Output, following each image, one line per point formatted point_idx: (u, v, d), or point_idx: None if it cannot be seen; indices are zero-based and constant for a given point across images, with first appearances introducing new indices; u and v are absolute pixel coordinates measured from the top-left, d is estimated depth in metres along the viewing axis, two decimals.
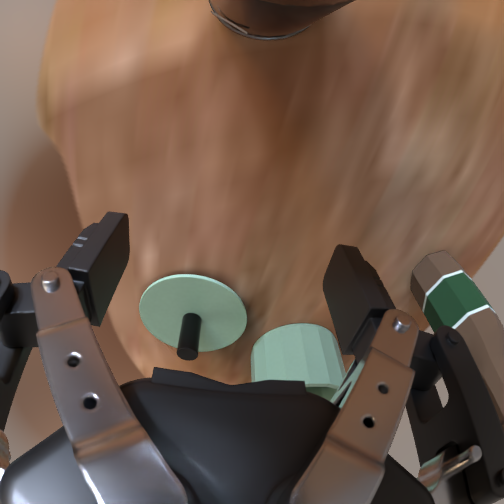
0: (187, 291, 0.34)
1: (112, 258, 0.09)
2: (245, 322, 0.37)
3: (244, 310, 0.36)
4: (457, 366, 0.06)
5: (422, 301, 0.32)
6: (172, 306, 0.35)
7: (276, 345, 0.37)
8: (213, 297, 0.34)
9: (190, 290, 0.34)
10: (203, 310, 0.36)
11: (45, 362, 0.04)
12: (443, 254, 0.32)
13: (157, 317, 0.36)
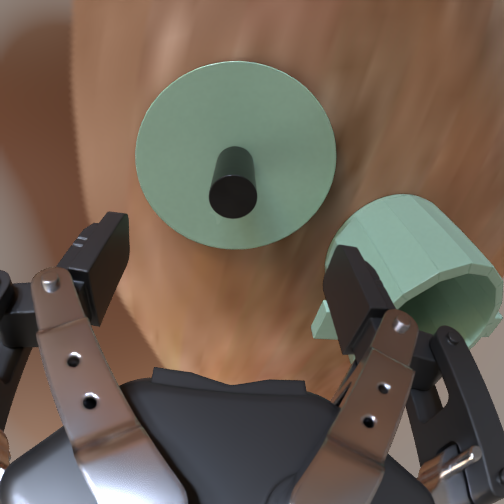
0: (235, 94, 0.17)
1: (112, 258, 0.09)
2: (332, 173, 0.20)
3: (333, 144, 0.19)
4: (457, 366, 0.06)
5: None
6: (200, 132, 0.18)
7: (384, 219, 0.20)
8: (282, 108, 0.17)
9: (241, 91, 0.17)
10: (259, 140, 0.18)
11: (45, 362, 0.04)
12: None
13: (168, 163, 0.19)
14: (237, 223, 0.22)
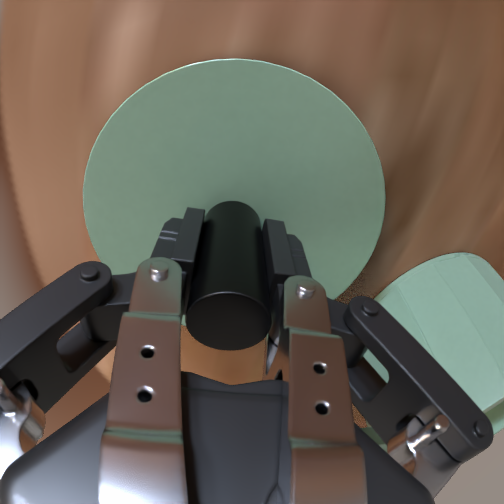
0: (230, 115, 0.10)
1: None
2: (376, 237, 0.13)
3: (383, 195, 0.12)
4: (386, 339, 0.07)
5: None
6: (176, 178, 0.11)
7: (437, 298, 0.13)
8: (309, 140, 0.11)
9: (241, 110, 0.10)
10: (271, 190, 0.12)
11: (119, 343, 0.05)
12: None
13: (130, 225, 0.12)
14: None
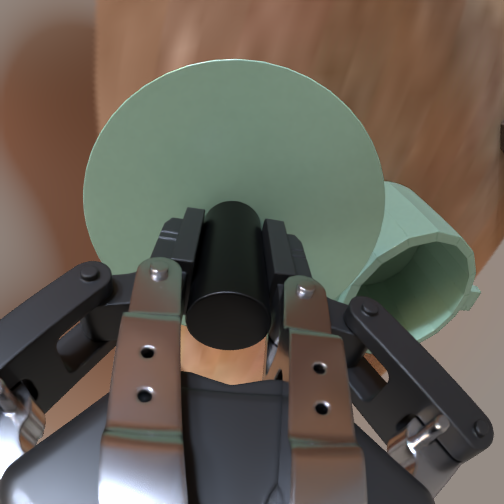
0: (230, 115, 0.10)
1: None
2: (375, 237, 0.13)
3: (382, 195, 0.12)
4: (386, 339, 0.07)
5: None
6: (176, 178, 0.11)
7: None
8: (309, 140, 0.11)
9: (241, 111, 0.10)
10: (271, 191, 0.12)
11: (119, 343, 0.05)
12: None
13: (130, 225, 0.12)
14: None
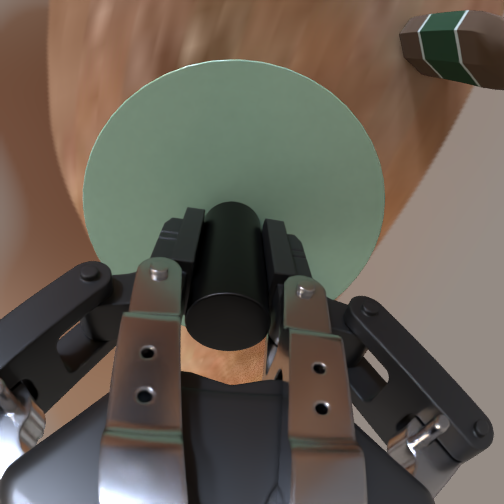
0: (230, 115, 0.10)
1: None
2: (375, 238, 0.13)
3: (382, 196, 0.12)
4: (386, 339, 0.07)
5: (419, 46, 0.21)
6: (176, 179, 0.11)
7: None
8: (308, 141, 0.11)
9: (240, 111, 0.10)
10: (270, 191, 0.12)
11: (119, 343, 0.05)
12: None
13: (130, 225, 0.12)
14: None
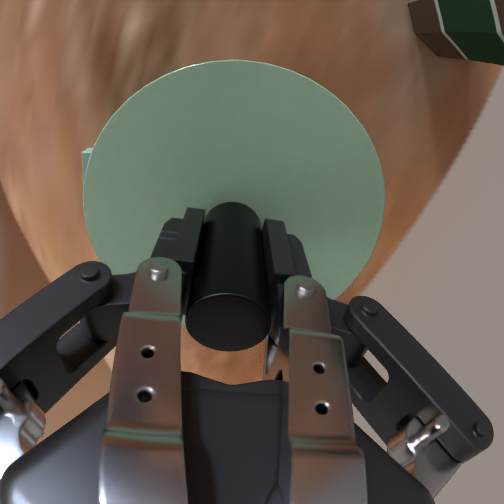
0: (230, 116, 0.10)
1: None
2: (375, 238, 0.13)
3: (382, 196, 0.12)
4: (386, 339, 0.07)
5: (435, 15, 0.13)
6: (176, 179, 0.11)
7: None
8: (309, 141, 0.11)
9: (240, 111, 0.10)
10: (271, 192, 0.12)
11: (119, 343, 0.05)
12: None
13: (130, 225, 0.12)
14: None
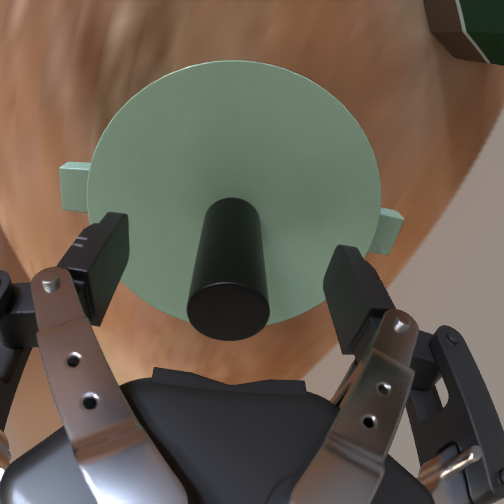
0: (230, 114, 0.10)
1: (112, 258, 0.09)
2: (372, 233, 0.14)
3: (379, 192, 0.12)
4: (457, 366, 0.06)
5: (456, 13, 0.11)
6: (178, 176, 0.12)
7: None
8: (306, 138, 0.11)
9: (240, 110, 0.10)
10: (270, 188, 0.12)
11: (45, 362, 0.04)
12: None
13: (133, 221, 0.13)
14: None
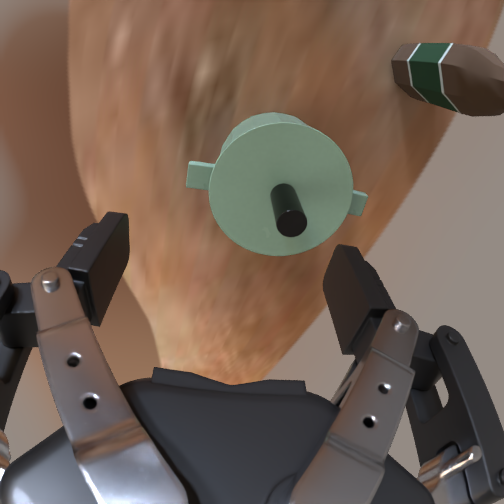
0: (286, 146, 0.25)
1: (112, 258, 0.09)
2: (349, 202, 0.28)
3: (351, 182, 0.27)
4: (457, 366, 0.06)
5: (407, 73, 0.25)
6: (260, 172, 0.26)
7: (245, 123, 0.30)
8: (318, 157, 0.25)
9: (290, 145, 0.25)
10: (301, 179, 0.27)
11: (45, 362, 0.04)
12: None
13: (234, 193, 0.27)
14: (281, 237, 0.30)
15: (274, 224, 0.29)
